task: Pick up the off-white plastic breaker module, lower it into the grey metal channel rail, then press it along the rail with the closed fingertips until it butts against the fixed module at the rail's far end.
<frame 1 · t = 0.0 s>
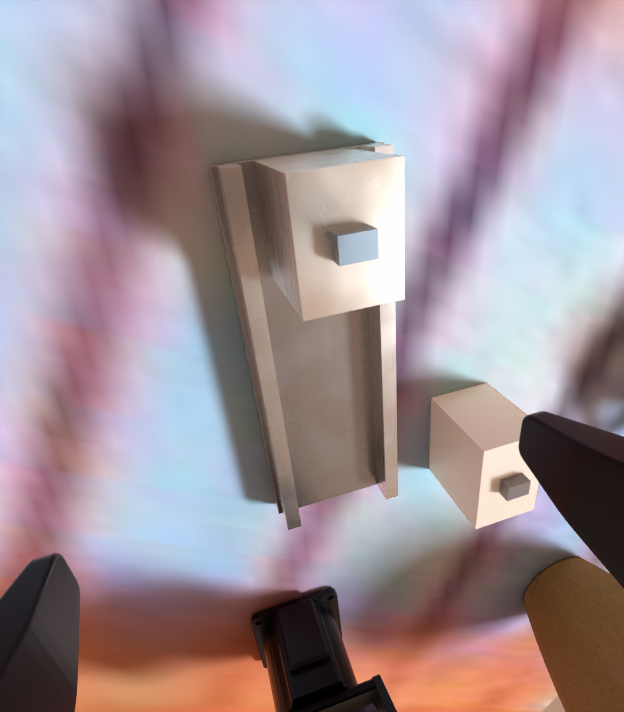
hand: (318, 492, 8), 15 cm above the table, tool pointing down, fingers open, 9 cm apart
plant pot: (552, 581, 44), on the table
rail: (318, 353, 24), on the table
module: (456, 426, 30), on the table
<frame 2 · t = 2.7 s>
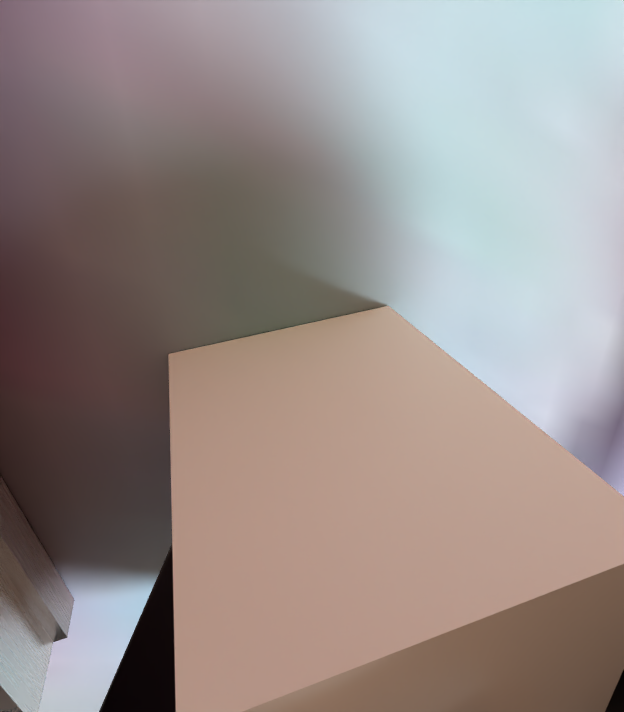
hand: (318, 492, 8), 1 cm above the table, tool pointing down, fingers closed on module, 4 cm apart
module: (303, 457, 9), on the table, touching gripper
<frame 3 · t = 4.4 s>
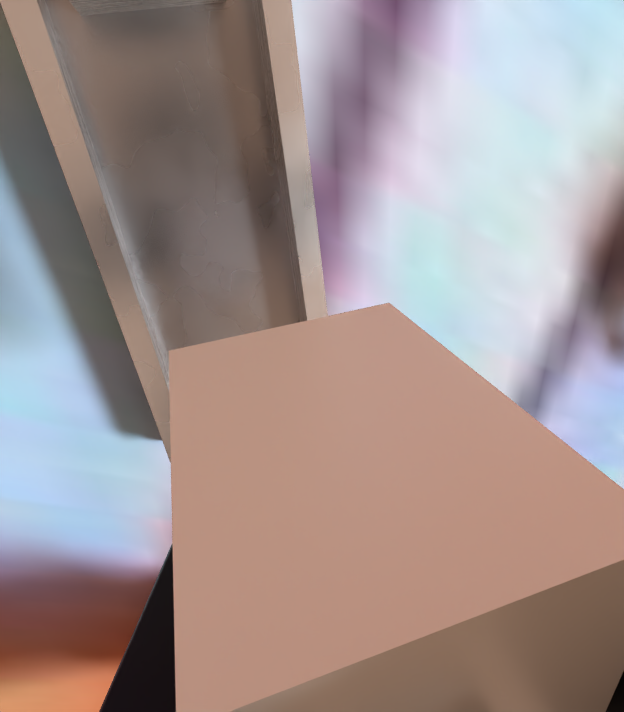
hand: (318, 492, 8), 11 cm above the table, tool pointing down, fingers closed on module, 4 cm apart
rail: (197, 191, 16), on the table
module: (303, 455, 9), point 10 cm above the table, touching gripper
when the fingers open (3 cm above the table, at t = 6.2 s): module drops 1 cm, resting on rail.
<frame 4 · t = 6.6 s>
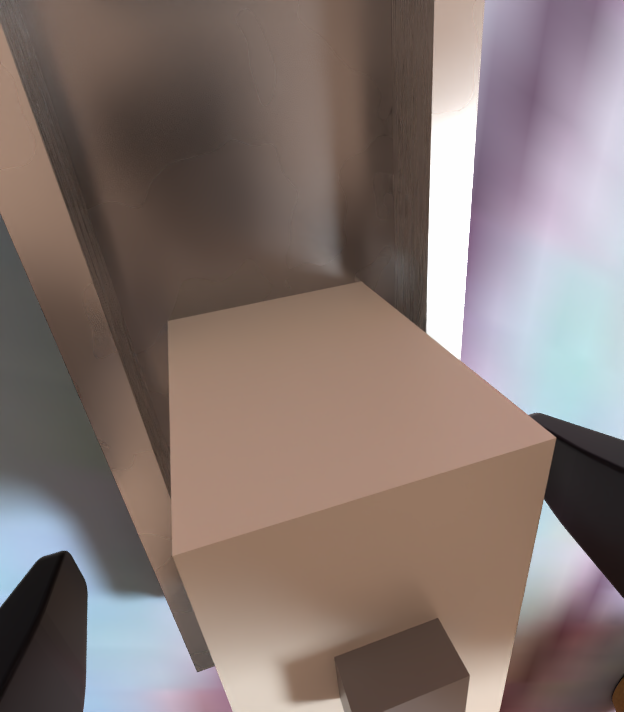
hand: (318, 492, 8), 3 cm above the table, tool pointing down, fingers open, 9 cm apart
rail: (254, 242, 9), on the table
module: (287, 419, 10), point 1 cm above the table, touching rail
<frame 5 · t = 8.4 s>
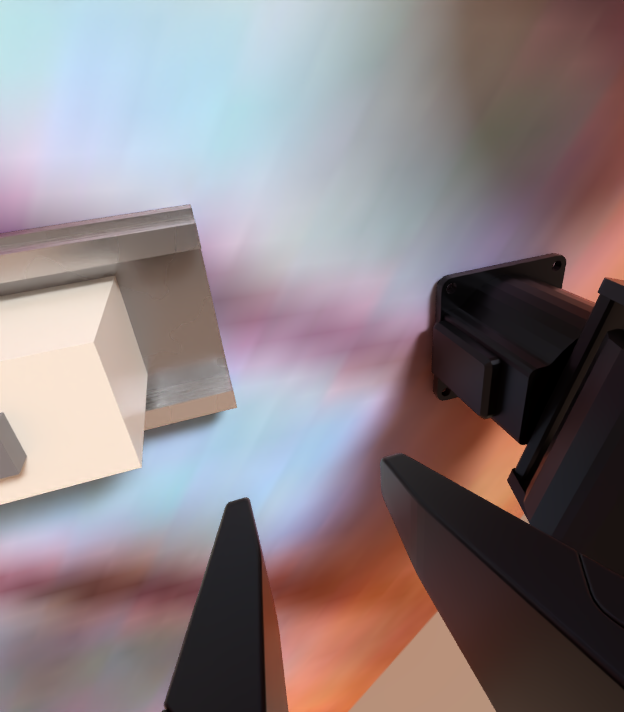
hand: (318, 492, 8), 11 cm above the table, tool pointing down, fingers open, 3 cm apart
module: (44, 345, 16), point 1 cm above the table, touching rail
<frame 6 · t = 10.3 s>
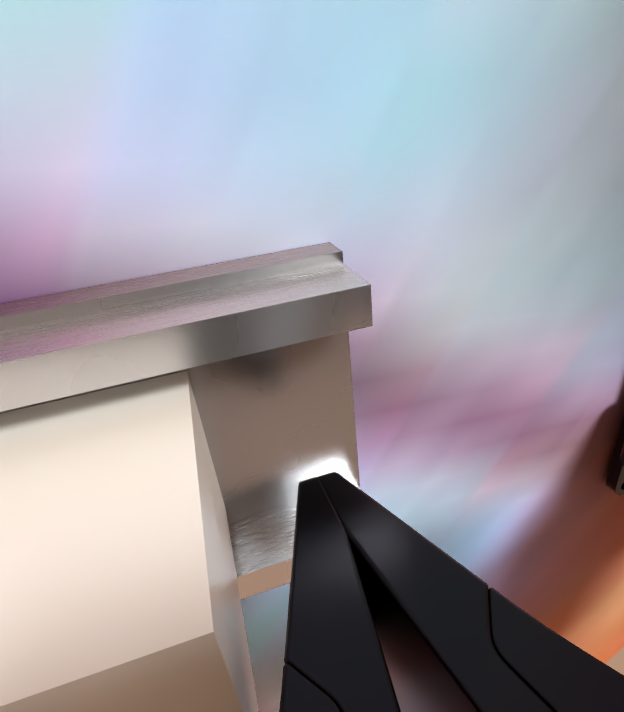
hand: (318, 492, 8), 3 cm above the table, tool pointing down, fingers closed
module: (66, 484, 9), point 1 cm above the table, touching gripper
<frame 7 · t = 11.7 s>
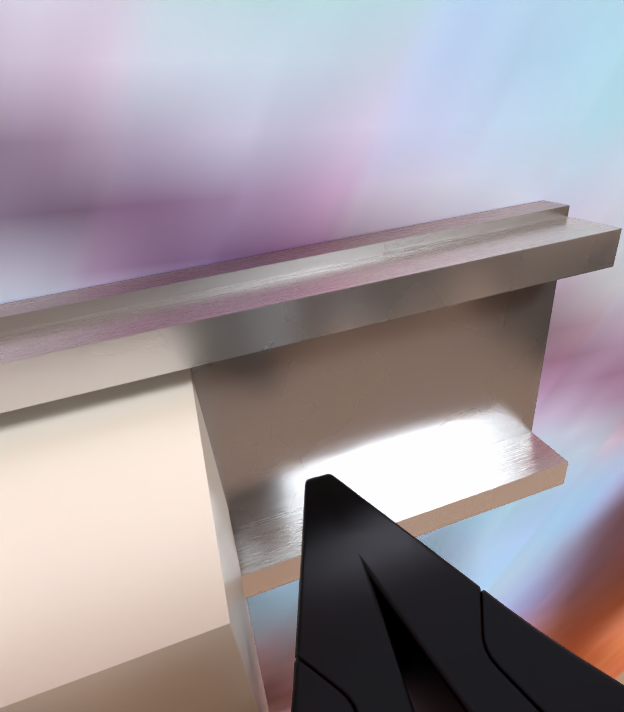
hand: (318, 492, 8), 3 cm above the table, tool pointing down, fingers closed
rail: (164, 436, 11), on the table
module: (67, 483, 9), point 1 cm above the table, touching gripper, rail
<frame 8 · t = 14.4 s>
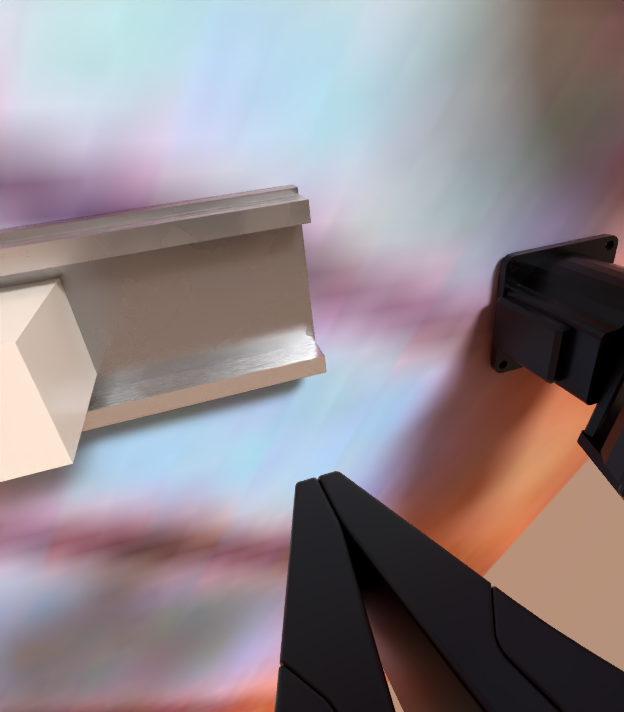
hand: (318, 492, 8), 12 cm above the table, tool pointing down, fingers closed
rail: (55, 326, 17), on the table
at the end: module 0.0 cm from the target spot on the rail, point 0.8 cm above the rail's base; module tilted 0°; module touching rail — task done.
